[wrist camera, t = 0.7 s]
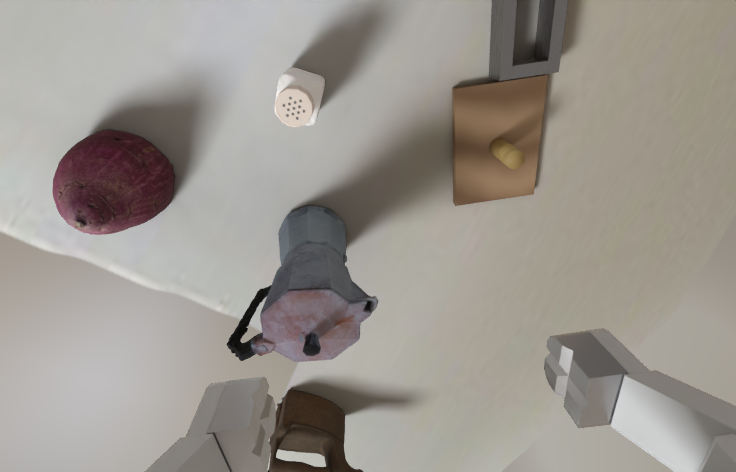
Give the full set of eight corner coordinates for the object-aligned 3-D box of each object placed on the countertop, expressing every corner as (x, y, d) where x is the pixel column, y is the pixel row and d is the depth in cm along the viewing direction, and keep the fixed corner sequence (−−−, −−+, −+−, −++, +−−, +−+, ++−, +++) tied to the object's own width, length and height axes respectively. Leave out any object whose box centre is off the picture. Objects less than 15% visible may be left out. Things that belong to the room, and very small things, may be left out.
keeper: (452, 87, 39) (469, 97, 33) (543, 73, 38) (574, 81, 33) (453, 202, 46) (467, 224, 41) (530, 190, 46) (554, 211, 41)
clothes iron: (348, 429, 70) (350, 508, 59) (270, 412, 66) (256, 494, 54) (365, 406, 67) (371, 485, 55) (285, 387, 62) (272, 469, 51)
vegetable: (167, 124, 42) (132, 140, 29) (188, 207, 46) (166, 255, 33) (62, 131, 39) (-31, 152, 26) (94, 219, 43) (28, 276, 30)
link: (493, -25, 34) (505, -29, 31) (555, -35, 34) (573, -40, 31) (488, 77, 38) (499, 80, 36) (543, 68, 38) (558, 71, 36)
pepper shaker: (282, 103, 38) (266, 125, 30) (288, 64, 36) (273, 76, 28) (318, 114, 39) (312, 137, 31) (326, 76, 37) (322, 90, 29)
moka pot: (379, 241, 48) (400, 361, 31) (281, 283, 51) (250, 414, 34) (348, 182, 44) (353, 285, 26) (242, 231, 46) (183, 353, 29)
